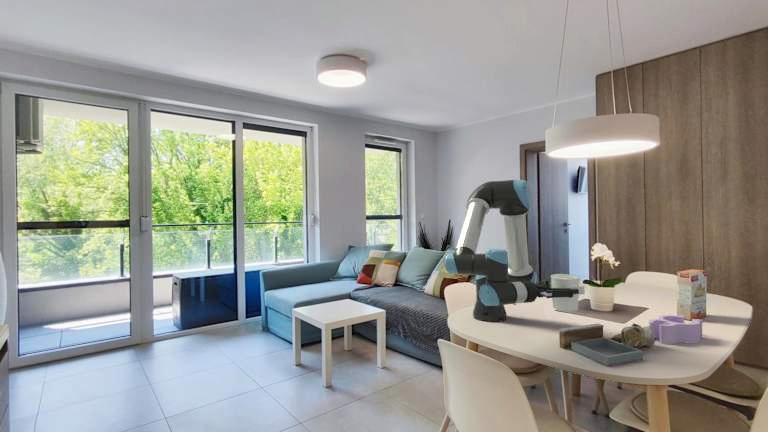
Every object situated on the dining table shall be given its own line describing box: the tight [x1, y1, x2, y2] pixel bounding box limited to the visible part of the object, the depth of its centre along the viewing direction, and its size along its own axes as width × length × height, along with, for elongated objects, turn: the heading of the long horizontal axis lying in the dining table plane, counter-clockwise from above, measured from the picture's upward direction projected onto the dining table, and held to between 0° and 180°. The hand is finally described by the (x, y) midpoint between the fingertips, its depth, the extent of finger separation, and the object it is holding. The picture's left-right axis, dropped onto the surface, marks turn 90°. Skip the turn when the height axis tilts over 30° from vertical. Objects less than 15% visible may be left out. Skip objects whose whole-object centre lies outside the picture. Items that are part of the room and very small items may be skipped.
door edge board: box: [558, 323, 604, 350], centre depth 141 cm, size 2×18×7 cm, turn 107°
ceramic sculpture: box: [607, 323, 656, 349], centre depth 138 cm, size 11×9×15 cm
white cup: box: [550, 273, 581, 313], centre depth 142 cm, size 10×10×12 cm
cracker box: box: [676, 268, 708, 321], centre depth 172 cm, size 14×6×21 cm, turn 118°
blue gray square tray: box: [570, 336, 644, 368], centre depth 131 cm, size 15×15×3 cm
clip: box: [648, 314, 703, 345], centre depth 146 cm, size 20×12×7 cm, turn 109°
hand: (573, 287), depth 143 cm, fingers closed on white cup, 9 cm apart
